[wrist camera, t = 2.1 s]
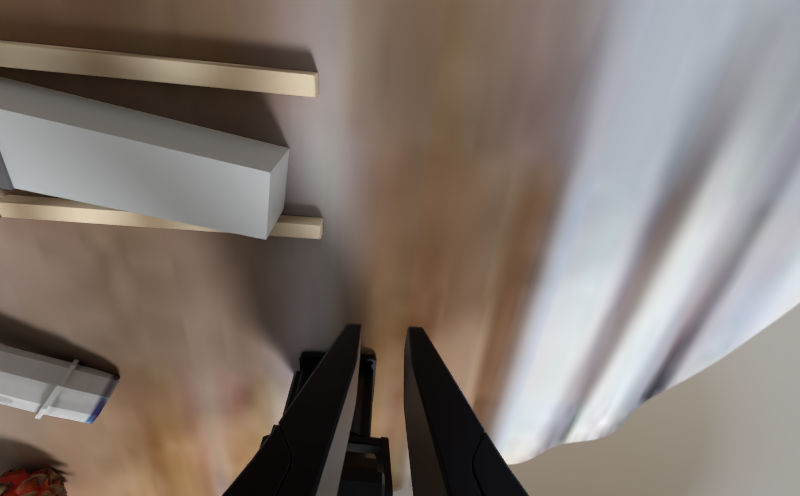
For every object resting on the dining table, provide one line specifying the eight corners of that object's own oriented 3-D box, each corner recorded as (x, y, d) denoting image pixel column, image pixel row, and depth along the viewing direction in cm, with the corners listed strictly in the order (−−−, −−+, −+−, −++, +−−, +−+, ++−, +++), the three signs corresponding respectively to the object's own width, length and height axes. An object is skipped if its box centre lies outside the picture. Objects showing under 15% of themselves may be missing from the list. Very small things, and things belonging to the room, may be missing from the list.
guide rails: (318, 72, 18) (314, 75, 17) (323, 231, 23) (320, 239, 22) (-87, 31, 16) (-112, 32, 16) (17, 209, 22) (2, 216, 21)
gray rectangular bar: (290, 146, 20) (269, 172, 17) (285, 207, 22) (265, 242, 19) (-29, 66, 18) (-132, 78, 14) (0, 144, 20) (-83, 170, 16)
